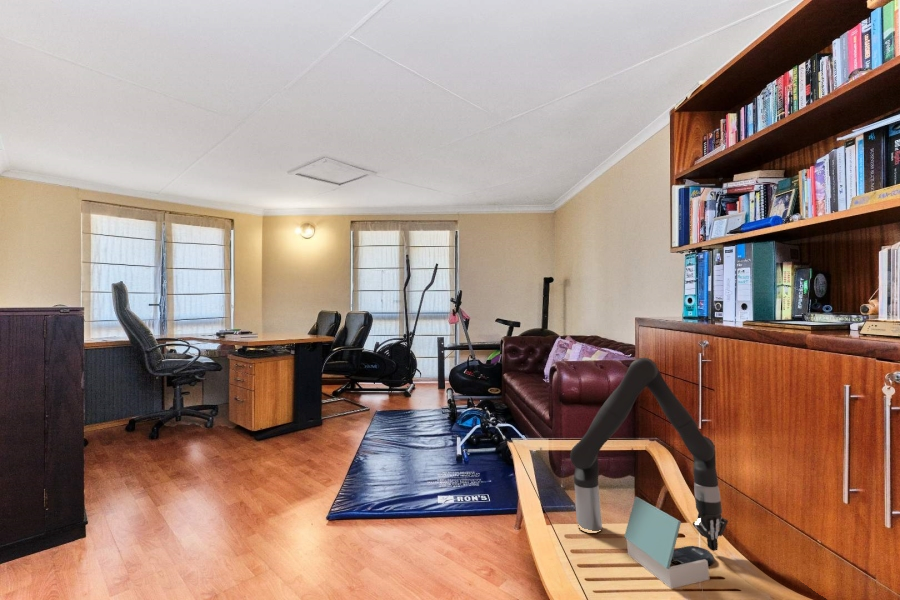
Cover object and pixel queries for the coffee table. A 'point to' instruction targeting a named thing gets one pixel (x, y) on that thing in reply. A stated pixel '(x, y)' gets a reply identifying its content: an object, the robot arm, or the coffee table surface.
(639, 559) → the open box
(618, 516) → the coffee table surface
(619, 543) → the coffee table surface
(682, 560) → the electronic device
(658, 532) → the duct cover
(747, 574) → the coffee table surface
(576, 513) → the robot arm
